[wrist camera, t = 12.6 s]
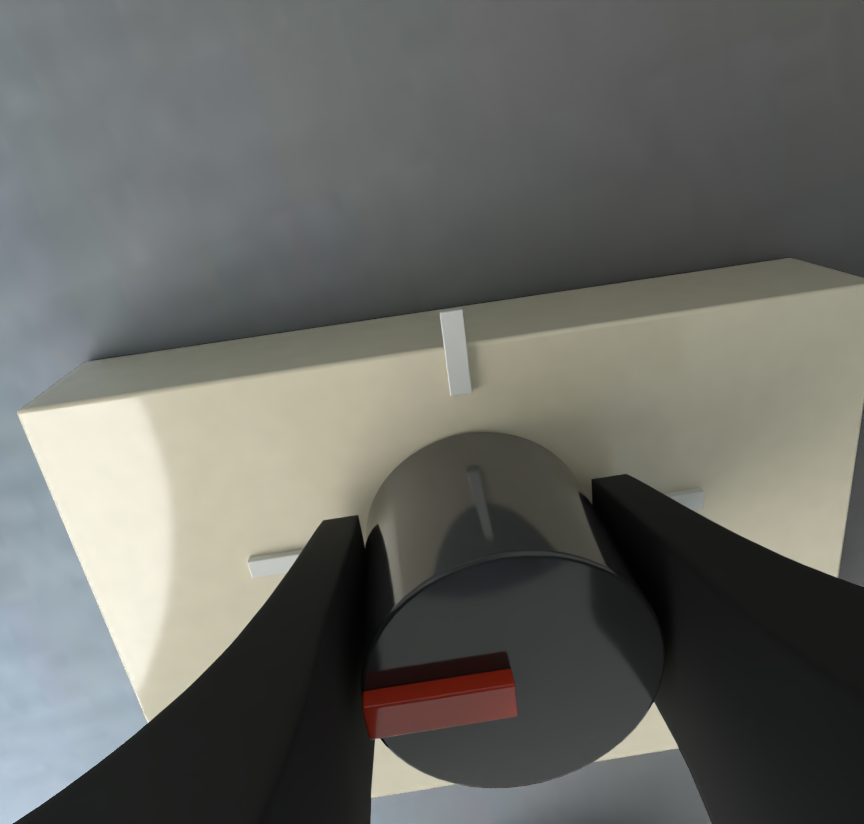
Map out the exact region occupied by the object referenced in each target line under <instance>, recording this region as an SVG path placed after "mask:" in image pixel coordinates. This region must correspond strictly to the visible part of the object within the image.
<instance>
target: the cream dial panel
mask: <svg viewBox="0 0 864 824" xmlns="http://www.w3.org/2000/svg"><path fill="white" fill-rule="evenodd" d="M863 406H864V278H862V277H859V276H855V275H851V274H848V273H844V272H841V271H837V270H833V269H830V268H826V267H822V266H819V265H815V264H811V263H808V262H804V261H801V260H797V259H793V258H785V259H778V260H772V261H765V262H758V263H751V264H745V265H738V266H731V267H724V268H718V269H711V270H704V271H697V272H690V273H684V274H677V275H670V276H663V277H657V278H650V279H643V280H636V281H630V282H623V283H616V284H609V285H603V286H596V287H589V288H582V289H575V290H569V291H562V292H555V293H548V294H542V295H535V296H528V297H521V298H515V299H508V300H501V301H494V302H488V303H481V304H474V305H467V306H460V307H454V308H447V309H440V310H433V311H427V312H420V313H413V314H406V315H400V316H393V317H386V318H379V319H372V320H366V321H359V322H352V323H345V324H339V325H332V326H325V327H318V328H312V329H305V330H298V331H291V332H285V333H278V334H271V335H264V336H257V337H251V338H244V339H237V340H230V341H224V342H217V343H210V344H203V345H197V346H190V347H183V348H176V349H169V350H163V351H156V352H149V353H142V354H136V355H129V356H122V357H115V358H109V359H102V360H95V361H88V362H83V363H82V364H80V365H79V366H78V367H76V368H75V369H74V370H72V371H71V372H70V373H68V374H67V375H66V376H64V377H63V378H61V379H60V380H59V381H57V382H56V383H55V384H53V385H52V386H51V387H49V388H48V389H47V390H45V391H44V392H42V393H41V394H40V395H38V396H37V397H36V398H34V399H33V400H32V401H30V402H29V403H28V404H26V405H25V406H23V407H22V408H21V409H19V410H18V417H19V419H20V422H21V424H22V426H23V429H24V431H25V433H26V436H27V438H28V440H29V443H30V445H31V448H32V450H33V452H34V455H35V457H36V459H37V462H38V464H39V467H40V469H41V471H42V474H43V476H44V478H45V481H46V483H47V486H48V488H49V490H50V493H51V495H52V497H53V500H54V502H55V505H56V507H57V509H58V512H59V514H60V516H61V519H62V521H63V524H64V526H65V528H66V531H67V533H68V535H69V538H70V540H71V543H72V545H73V547H74V550H75V552H76V554H77V557H78V559H79V562H80V564H81V566H82V569H83V571H84V573H85V576H86V578H87V581H88V583H89V585H90V588H91V590H92V592H93V595H94V597H95V600H96V602H97V604H98V607H99V609H100V611H101V614H102V616H103V618H104V621H105V623H106V626H107V628H108V630H109V633H110V635H111V637H112V640H113V642H114V645H115V647H116V649H117V652H118V654H119V656H120V659H121V661H122V664H123V666H124V668H125V671H126V673H127V675H128V678H129V680H130V683H131V685H132V687H133V690H134V692H135V694H136V697H137V699H138V702H139V704H140V706H141V709H142V711H143V713H144V716H145V718H146V721H147V723H149V722H150V721H151V720H152V719H153V718H154V717H155V716H157V715H158V714H159V713H160V712H161V711H162V710H163V709H165V708H166V707H167V706H168V705H169V704H170V703H171V702H173V701H174V700H175V699H176V698H177V697H178V696H179V695H180V694H182V693H183V692H184V691H185V690H186V689H187V688H188V687H189V686H190V685H191V684H192V683H193V682H195V681H196V680H197V679H198V678H199V677H200V676H201V675H202V674H203V673H204V672H205V671H206V670H207V668H208V667H209V666H210V665H211V664H212V663H213V662H214V661H215V660H216V659H217V658H218V657H219V656H220V655H221V654H222V653H223V652H224V651H225V650H226V649H227V648H228V647H229V646H230V645H231V643H232V642H233V641H234V640H235V639H236V638H237V637H238V635H239V634H240V633H241V632H242V630H243V629H244V628H245V627H246V626H247V624H248V623H249V622H250V621H251V619H252V618H253V617H254V616H255V614H256V613H257V612H258V611H259V610H260V608H261V607H262V606H263V605H264V603H265V602H266V601H267V599H268V598H269V597H270V595H271V594H272V593H273V591H274V590H275V589H276V587H277V586H278V584H279V583H280V582H281V580H282V579H283V577H284V576H285V575H286V573H287V572H288V571H289V569H290V568H291V566H292V565H293V563H294V562H295V560H296V559H297V557H298V556H299V554H300V553H301V551H302V550H303V548H304V547H305V545H306V544H307V542H308V541H309V539H310V538H311V536H312V535H313V533H314V532H315V530H316V529H317V527H318V526H319V525H320V524H321V522H322V521H323V520H328V519H334V518H341V517H347V516H354V515H358V516H359V521H360V526H361V530H362V535H363V540H364V545H365V542H366V523H367V518H368V513H369V510H370V507H371V504H372V501H373V499H374V497H375V495H376V493H377V492H378V490H379V488H380V486H381V485H382V484H383V482H384V481H385V479H386V478H387V477H388V476H389V474H390V473H391V472H392V471H393V470H394V469H395V468H396V467H397V466H398V465H399V464H400V463H402V462H403V461H404V460H405V459H406V458H408V457H409V456H410V455H412V454H413V453H415V452H417V451H418V450H420V449H421V448H423V447H425V446H427V445H429V444H432V443H434V442H436V441H438V440H441V439H444V438H447V437H450V436H455V435H460V434H464V433H473V432H498V433H505V434H511V435H515V436H519V437H522V438H525V439H528V440H530V441H533V442H535V443H537V444H540V445H541V446H543V447H545V448H546V449H548V450H550V451H551V452H553V453H554V454H555V455H556V456H557V457H559V458H560V459H561V460H562V461H563V462H564V463H565V464H566V465H567V466H568V467H569V469H570V470H571V471H572V472H573V474H574V475H575V477H576V478H577V480H578V482H579V483H580V485H581V487H582V488H583V490H584V492H585V493H586V495H587V497H588V498H589V500H590V502H591V504H592V484H591V479H596V478H602V477H609V476H615V475H622V474H628V475H630V476H632V477H634V478H636V479H638V480H640V481H641V482H643V483H645V484H647V485H649V486H650V487H652V488H654V489H656V490H658V491H659V492H661V493H663V494H665V495H666V496H668V497H670V498H672V499H673V500H675V501H677V502H679V503H680V504H682V505H684V506H686V507H688V508H689V509H691V510H693V511H695V512H697V513H698V514H700V515H702V516H704V517H706V518H708V519H709V520H711V521H713V522H715V523H717V524H719V525H721V526H723V527H724V528H726V529H728V530H730V531H732V532H734V533H736V534H738V535H740V536H742V537H744V538H746V539H748V540H751V541H753V542H755V543H757V544H759V545H761V546H763V547H765V548H767V549H770V550H772V551H774V552H776V553H778V554H780V555H783V556H785V557H787V558H789V559H792V560H794V561H796V562H799V563H801V564H803V565H806V566H809V567H811V568H814V569H816V570H819V571H821V572H824V573H826V574H829V575H832V576H834V577H837V578H838V576H839V570H840V563H841V556H842V549H843V542H844V535H845V529H846V522H847V515H848V508H849V501H850V495H851V488H852V481H853V474H854V467H855V460H856V454H857V447H858V440H859V433H860V426H861V419H862V413H863ZM672 749H678V746H677V743H676V742H675V740H674V738H673V736H672V734H671V732H670V730H669V729H668V727H667V725H666V723H665V721H664V719H663V717H662V716H661V714H660V712H659V710H658V708H657V706H656V704H655V703H653V704H652V706H651V707H650V709H649V711H648V712H647V714H646V716H645V717H644V718H643V720H642V721H641V722H640V723H639V725H638V726H637V727H636V728H635V729H634V730H633V731H632V732H631V733H630V734H629V735H628V736H627V737H626V738H625V739H624V740H623V741H622V742H621V743H620V744H619V745H617V746H616V747H615V748H614V749H612V750H611V751H610V752H608V753H607V754H605V755H604V756H602V757H601V758H599V759H598V760H596V761H594V762H598V761H604V760H610V759H617V758H623V757H629V756H635V755H641V754H647V753H654V752H660V751H666V750H672ZM450 785H457V784H454V783H450V782H447V781H443V780H439V779H437V778H434V777H432V776H429V775H427V774H424V773H422V772H420V771H419V770H417V769H415V768H413V767H411V766H409V765H408V764H407V763H405V762H404V761H402V760H401V759H400V758H398V757H397V756H396V755H395V754H394V753H393V752H392V751H391V750H390V749H389V748H388V747H387V746H386V745H385V744H384V743H383V742H382V740H381V739H380V738H379V739H375V748H374V761H373V775H372V789H371V798H376V797H383V796H389V795H395V794H401V793H407V792H413V791H420V790H426V789H432V788H438V787H444V786H450Z"/></svg>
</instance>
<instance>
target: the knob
mask: <svg viewBox="0 0 864 824" xmlns="http://www.w3.org/2000/svg"><path fill="white" fill-rule="evenodd" d="M665 658H666V654H665V639H664V635H663V631H662V627H661V624H660V621H659V619H658V617H657V614H656V612H655V610H654V608H653V607H652V605H651V603H650V602H649V600H648V598H647V596H646V595H645V593H644V591H643V590H642V588H641V586H640V585H639V583H638V581H637V580H636V578H635V576H634V575H633V573H632V571H631V569H630V568H629V566H628V564H627V563H626V561H625V559H624V558H623V556H622V554H621V553H620V551H619V549H618V547H617V546H616V544H615V542H614V541H613V539H612V537H611V536H610V534H609V532H608V531H607V529H606V527H605V525H604V524H603V522H602V520H601V519H600V517H599V515H598V514H597V512H596V510H595V509H594V507H593V505H592V504H591V502H590V500H589V498H588V497H587V495H586V493H585V492H584V490H583V488H582V487H581V485H580V483H579V482H578V480H577V478H576V477H575V475H574V474H573V472H572V471H571V470H570V469H569V467H568V466H567V465H566V464H565V463H564V462H563V461H562V460H561V459H560V458H559V457H557V456H556V455H555V454H554V453H553V452H551V451H550V450H548V449H546V448H545V447H543V446H541V445H540V444H537V443H535V442H533V441H530V440H528V439H525V438H522V437H519V436H515V435H511V434H505V433H498V432H473V433H464V434H460V435H455V436H450V437H447V438H444V439H441V440H438V441H436V442H434V443H432V444H429V445H427V446H425V447H423V448H421V449H420V450H418V451H417V452H415V453H413V454H412V455H410V456H409V457H408V458H406V459H405V460H404V461H403V462H402V463H400V464H399V465H398V466H397V467H396V468H395V469H394V470H393V471H392V472H391V473H390V474H389V476H388V477H387V478H386V479H385V481H384V482H383V484H382V485H381V486H380V488H379V490H378V492H377V493H376V495H375V497H374V499H373V501H372V504H371V507H370V510H369V513H368V518H367V523H366V542H365V571H364V601H363V630H362V659H361V694H362V711H363V716H364V720H365V724H366V728H367V733H368V737H369V739H371V740H373V739H379V738H380V739H381V740H382V742H383V743H384V744H385V745H386V746H387V747H388V748H389V749H390V750H391V751H392V752H393V753H394V754H395V755H396V756H397V757H398V758H400V759H401V760H402V761H404V762H405V763H407V764H408V765H409V766H411V767H413V768H415V769H417V770H419V771H420V772H422V773H424V774H427V775H429V776H432V777H434V778H437V779H439V780H443V781H447V782H450V783H454V784H459V785H464V786H470V787H482V788H510V787H518V786H527V785H532V784H536V783H541V782H545V781H549V780H552V779H555V778H559V777H562V776H564V775H567V774H569V773H572V772H574V771H577V770H579V769H581V768H583V767H585V766H587V765H589V764H591V763H593V762H594V761H596V760H598V759H599V758H601V757H602V756H604V755H605V754H607V753H608V752H610V751H611V750H612V749H614V748H615V747H616V746H617V745H619V744H620V743H621V742H622V741H623V740H624V739H625V738H626V737H627V736H628V735H629V734H630V733H631V732H632V731H633V730H634V729H635V728H636V727H637V726H638V725H639V723H640V722H641V721H642V720H643V718H644V717H645V716H646V714H647V712H648V711H649V709H650V707H651V706H652V704H653V703H654V700H655V698H656V696H657V693H658V691H659V689H660V686H661V682H662V678H663V675H664V668H665Z"/></svg>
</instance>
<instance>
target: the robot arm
mask: <svg viewBox="0 0 864 824" xmlns="http://www.w3.org/2000/svg"><path fill="white" fill-rule="evenodd" d="M591 484H592V505H593V507H594V509H595V510H596V512H597V514H598V515H599V517H600V519H601V520H602V522H603V524H604V525H605V527H606V529H607V531H608V532H609V534H610V536H611V537H612V539H613V541H614V542H615V544H616V546H617V547H618V549H619V551H620V553H621V554H622V556H623V558H624V559H625V561H626V563H627V564H628V566H629V568H630V569H631V571H632V573H633V575H634V576H635V578H636V580H637V581H638V583H639V585H640V586H641V588H642V590H643V591H644V593H645V595H646V596H647V598H648V600H649V602H650V603H651V605H652V607H653V608H654V610H655V612H656V614H657V617H658V619H659V621H660V624H661V627H662V631H663V635H664V639H665V654H666V658H665V668H664V675H663V678H662V682H661V686H660V689H659V691H658V693H657V696H656V698H655V700H654V703H655V704H656V706H657V708H658V710H659V712H660V714H661V716H662V717H663V719H664V721H665V723H666V725H667V727H668V729H669V730H670V732H671V734H672V736H673V738H674V740H675V742H676V743H677V746H678V748H679V750H680V752H681V754H682V756H683V758H684V760H685V762H686V764H687V766H688V768H689V770H690V772H691V775H692V777H693V779H694V782H695V784H696V787H697V789H698V791H699V794H700V796H701V798H702V801H703V803H704V806H705V808H706V810H707V813H708V815H709V817H710V820H711V822H712V824H864V587H861V586H858V585H855V584H852V583H850V582H847V581H844V580H842V579H839V578H837V577H834V576H832V575H829V574H826V573H824V572H821V571H819V570H816V569H814V568H811V567H809V566H806V565H803V564H801V563H799V562H796V561H794V560H792V559H789V558H787V557H785V556H783V555H780V554H778V553H776V552H774V551H772V550H770V549H767V548H765V547H763V546H761V545H759V544H757V543H755V542H753V541H751V540H748V539H746V538H744V537H742V536H740V535H738V534H736V533H734V532H732V531H730V530H728V529H726V528H724V527H723V526H721V525H719V524H717V523H715V522H713V521H711V520H709V519H708V518H706V517H704V516H702V515H700V514H698V513H697V512H695V511H693V510H691V509H689V508H688V507H686V506H684V505H682V504H680V503H679V502H677V501H675V500H673V499H672V498H670V497H668V496H666V495H665V494H663V493H661V492H659V491H658V490H656V489H654V488H652V487H650V486H649V485H647V484H645V483H643V482H641V481H640V480H638V479H636V478H634V477H632V476H630V475H628V474H622V475H615V476H609V477H602V478H596V479H591ZM364 571H365V545H364V540H363V535H362V530H361V526H360V521H359V516H358V515H354V516H347V517H341V518H334V519H328V520H323V521H322V522H321V524H320V525H319V526H318V527H317V529H316V530H315V532H314V533H313V535H312V536H311V538H310V539H309V541H308V542H307V544H306V545H305V547H304V548H303V550H302V551H301V553H300V554H299V556H298V557H297V559H296V560H295V562H294V563H293V565H292V566H291V568H290V569H289V571H288V572H287V573H286V575H285V576H284V577H283V579H282V580H281V582H280V583H279V584H278V586H277V587H276V589H275V590H274V591H273V593H272V594H271V595H270V597H269V598H268V599H267V601H266V602H265V603H264V605H263V606H262V607H261V608H260V610H259V611H258V612H257V613H256V614H255V616H254V617H253V618H252V619H251V621H250V622H249V623H248V624H247V626H246V627H245V628H244V629H243V630H242V632H241V633H240V634H239V635H238V637H237V638H236V639H235V640H234V641H233V642H232V643H231V645H230V646H229V647H228V648H227V649H226V650H225V651H224V652H223V653H222V654H221V655H220V656H219V657H218V658H217V659H216V660H215V661H214V662H213V663H212V664H211V665H210V666H209V667H208V668H207V670H206V671H205V672H204V673H203V674H202V675H201V676H200V677H199V678H198V679H197V680H196V681H195V682H193V683H192V684H191V685H190V686H189V687H188V688H187V689H186V690H185V691H184V692H183V693H182V694H180V695H179V696H178V697H177V698H176V699H175V700H174V701H173V702H171V703H170V704H169V705H168V706H167V707H166V708H165V709H163V710H162V711H161V712H160V713H159V714H158V715H157V716H155V717H154V718H153V719H152V720H151V721H150V722H149V723H148V724H146V725H145V726H144V727H143V728H142V729H141V730H140V731H138V732H137V733H136V734H135V735H134V736H132V737H131V738H130V739H129V740H128V741H126V742H125V743H124V744H123V745H121V746H120V747H119V748H117V749H116V750H115V751H114V752H112V753H111V754H110V755H109V756H107V757H106V758H105V759H103V760H102V761H101V762H100V763H98V764H97V765H96V766H94V767H93V768H92V769H90V770H89V771H88V772H86V773H85V774H84V775H82V776H81V777H79V778H78V779H77V780H75V781H74V782H73V783H71V784H70V785H69V786H67V787H66V788H65V789H63V790H62V791H60V792H59V793H58V794H56V795H55V796H53V797H52V798H50V799H49V800H48V801H46V802H45V803H43V804H42V805H41V806H39V807H38V808H36V809H34V810H33V811H31V812H30V813H28V814H27V815H25V816H24V817H22V818H21V819H19V820H18V821H16V822H15V823H13V824H370V816H371V789H372V775H373V761H374V748H375V739H373V740H371V739H369V737H368V733H367V728H366V724H365V720H364V716H363V711H362V694H361V659H362V630H363V601H364Z"/></svg>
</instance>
